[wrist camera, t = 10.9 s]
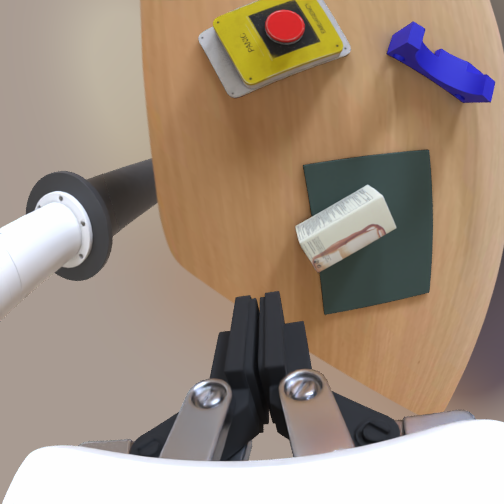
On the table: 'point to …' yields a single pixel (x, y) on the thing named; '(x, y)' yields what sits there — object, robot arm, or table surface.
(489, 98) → the cable clip
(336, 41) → the emergency button
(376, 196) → the printed medicine box
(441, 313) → the table surface
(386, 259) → the mat
